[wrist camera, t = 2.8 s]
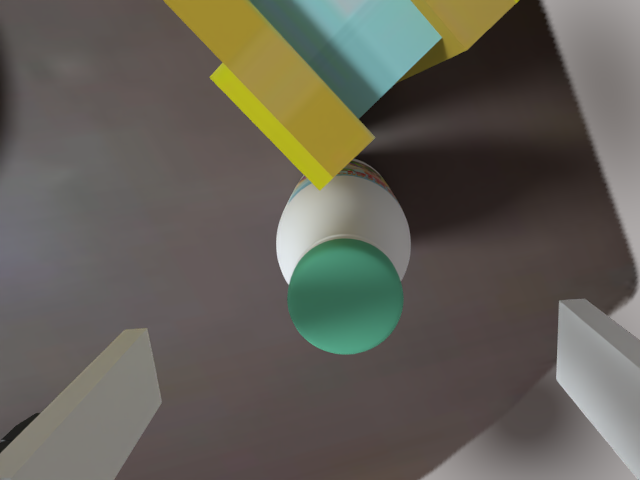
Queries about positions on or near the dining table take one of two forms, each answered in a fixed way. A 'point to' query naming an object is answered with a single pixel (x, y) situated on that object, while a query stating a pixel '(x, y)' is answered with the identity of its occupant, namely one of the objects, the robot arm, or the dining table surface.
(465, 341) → the dining table surface
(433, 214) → the dining table surface
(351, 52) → the book
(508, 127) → the dining table surface
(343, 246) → the milk bottle
